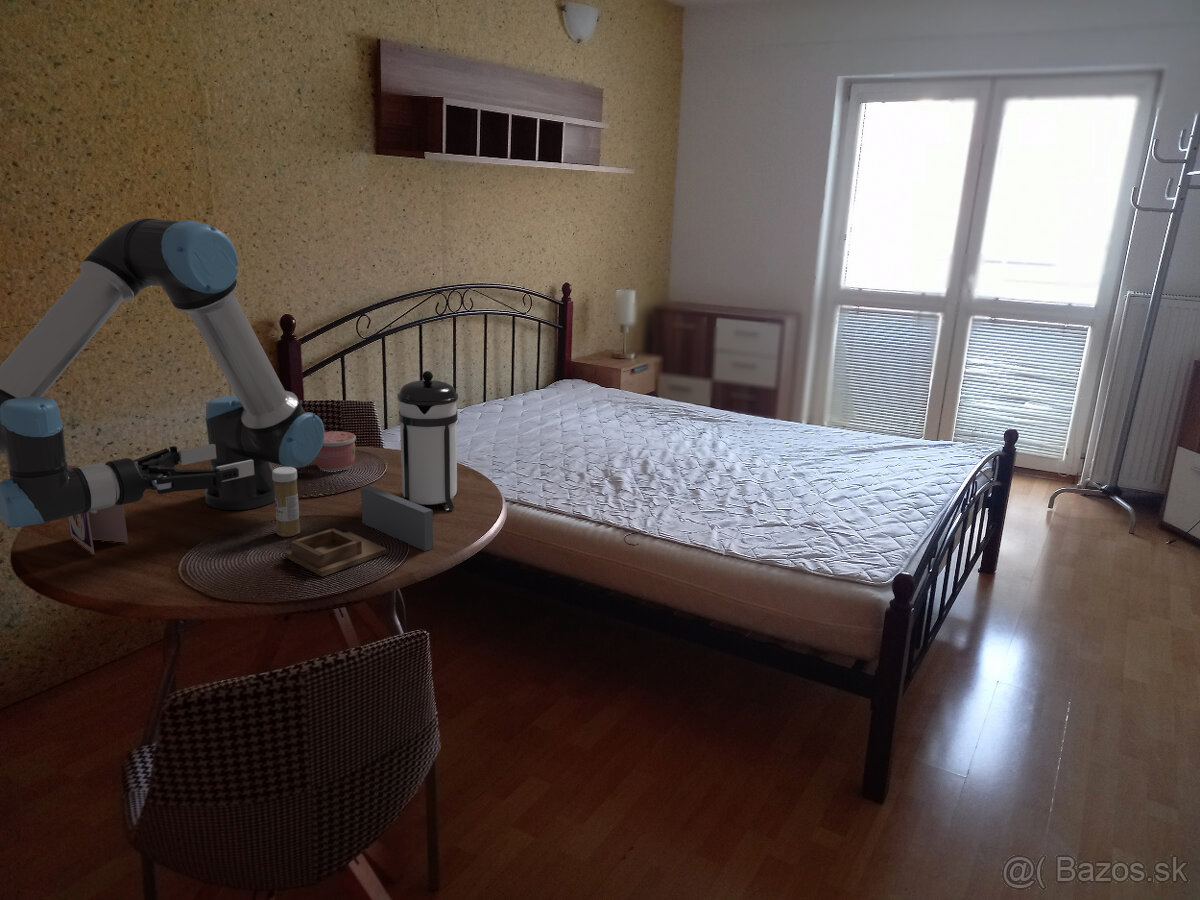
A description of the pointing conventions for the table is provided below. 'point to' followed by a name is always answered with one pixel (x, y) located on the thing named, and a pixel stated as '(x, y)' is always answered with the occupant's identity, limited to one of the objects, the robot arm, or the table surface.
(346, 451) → the container
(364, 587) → the table surface
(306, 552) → the socket block
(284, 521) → the sprinkles bottle
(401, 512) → the backstop wall
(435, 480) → the coffee press
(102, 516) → the greeting card
